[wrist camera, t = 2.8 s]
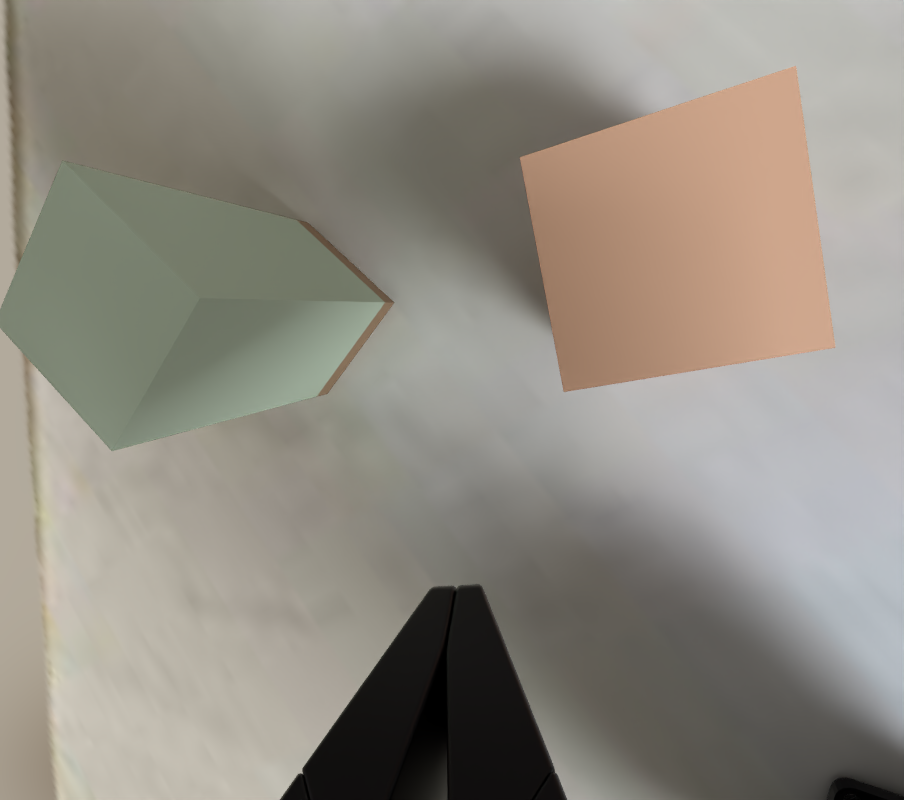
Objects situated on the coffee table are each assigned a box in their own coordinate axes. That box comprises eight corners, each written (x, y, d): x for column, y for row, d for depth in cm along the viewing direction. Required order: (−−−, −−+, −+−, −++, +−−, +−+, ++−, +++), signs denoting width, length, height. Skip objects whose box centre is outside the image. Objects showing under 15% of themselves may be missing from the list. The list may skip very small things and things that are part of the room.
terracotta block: (755, 331, 17) (835, 347, 10) (596, 359, 19) (563, 392, 12) (730, 173, 17) (796, 66, 9) (570, 217, 19) (519, 157, 11)
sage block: (394, 302, 21) (199, 298, 12) (327, 393, 23) (111, 450, 14) (308, 222, 22) (62, 160, 13) (249, 316, 24) (-5, 322, 15)
